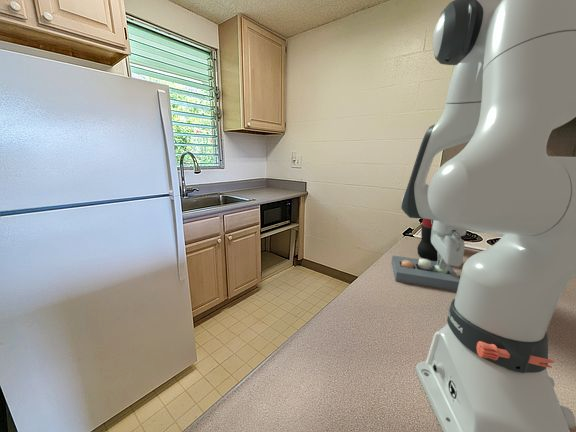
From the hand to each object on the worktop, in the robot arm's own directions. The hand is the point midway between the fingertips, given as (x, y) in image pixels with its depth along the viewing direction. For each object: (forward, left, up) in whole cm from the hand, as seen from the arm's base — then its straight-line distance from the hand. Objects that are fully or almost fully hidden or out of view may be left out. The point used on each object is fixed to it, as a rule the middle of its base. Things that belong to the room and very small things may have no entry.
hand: (441, 266), depth 79 cm
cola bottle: (+18, -1, -4) cm, 18 cm away
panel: (0, +5, -4) cm, 6 cm away
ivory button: (0, +5, -1) cm, 5 cm away
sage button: (0, 0, -2) cm, 2 cm away
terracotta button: (0, +10, -2) cm, 10 cm away
